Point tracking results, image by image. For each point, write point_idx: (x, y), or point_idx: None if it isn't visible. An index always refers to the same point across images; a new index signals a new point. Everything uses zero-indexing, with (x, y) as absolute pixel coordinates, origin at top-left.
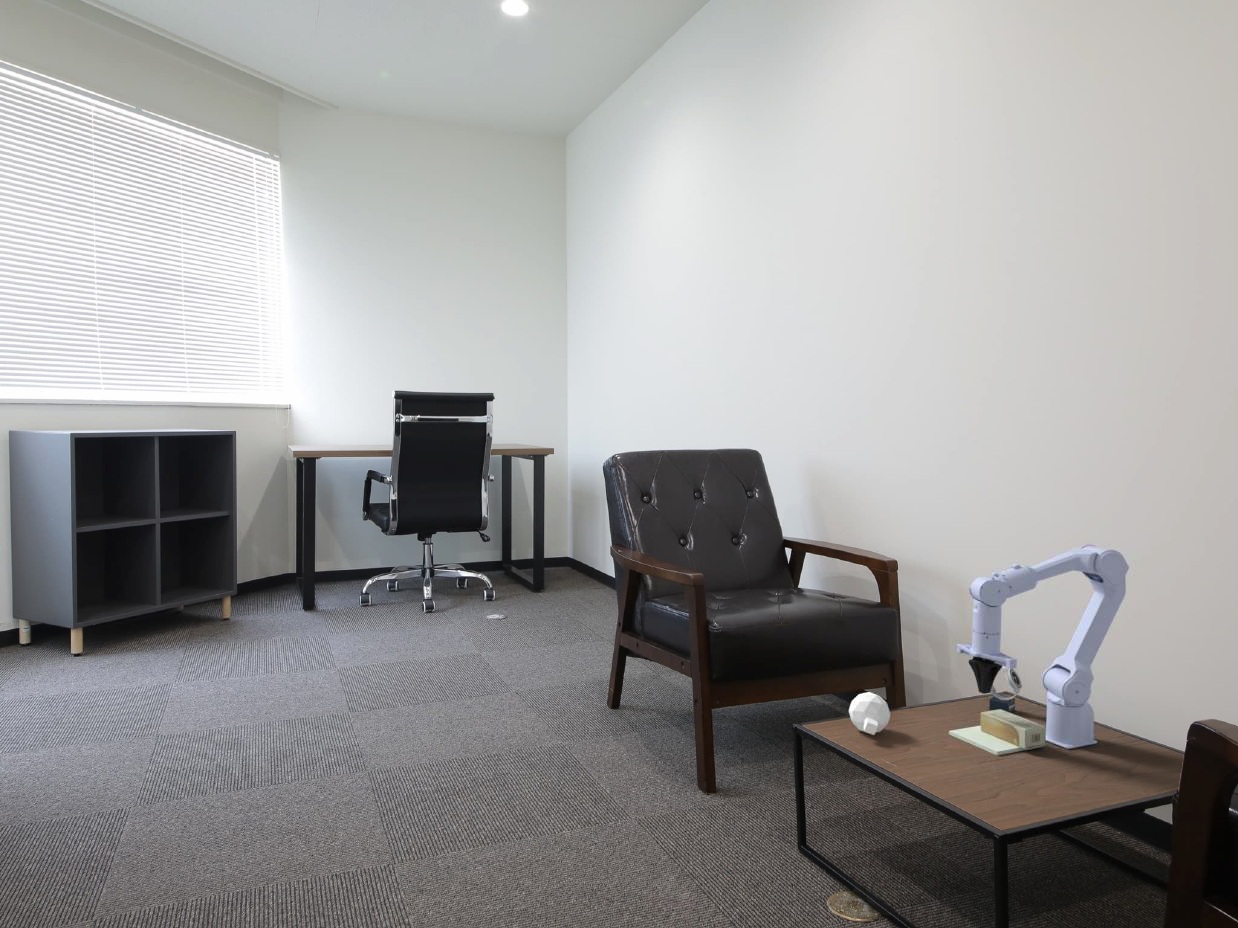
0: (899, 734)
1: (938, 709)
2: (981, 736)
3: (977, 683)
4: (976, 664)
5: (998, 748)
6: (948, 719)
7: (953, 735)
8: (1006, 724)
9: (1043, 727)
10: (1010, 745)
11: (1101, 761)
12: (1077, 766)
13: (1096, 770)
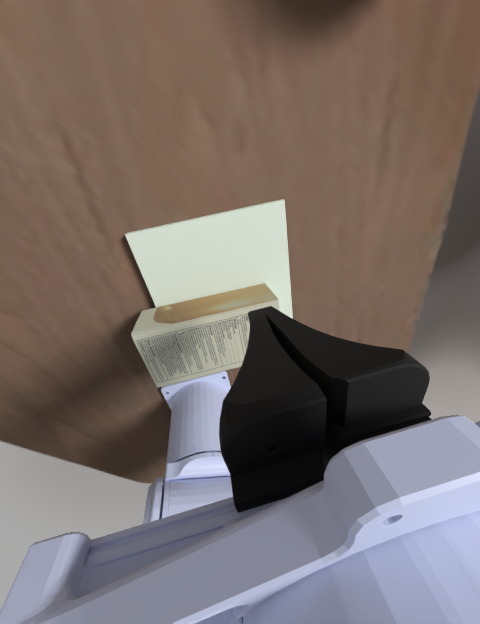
0: (328, 2)
1: (406, 278)
2: (232, 262)
3: (285, 317)
4: (328, 379)
5: (148, 252)
6: (356, 263)
7: (267, 202)
8: (192, 317)
9: (155, 381)
10: (168, 293)
11: (104, 405)
12: (71, 361)
13: (53, 380)
